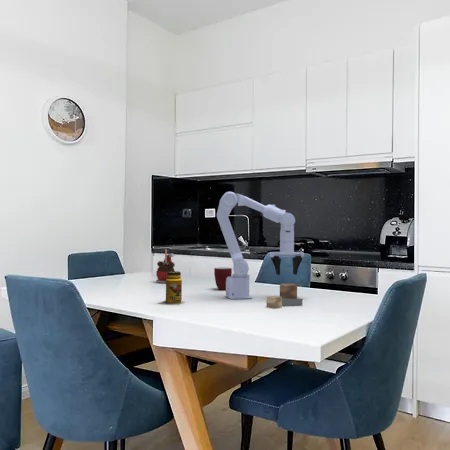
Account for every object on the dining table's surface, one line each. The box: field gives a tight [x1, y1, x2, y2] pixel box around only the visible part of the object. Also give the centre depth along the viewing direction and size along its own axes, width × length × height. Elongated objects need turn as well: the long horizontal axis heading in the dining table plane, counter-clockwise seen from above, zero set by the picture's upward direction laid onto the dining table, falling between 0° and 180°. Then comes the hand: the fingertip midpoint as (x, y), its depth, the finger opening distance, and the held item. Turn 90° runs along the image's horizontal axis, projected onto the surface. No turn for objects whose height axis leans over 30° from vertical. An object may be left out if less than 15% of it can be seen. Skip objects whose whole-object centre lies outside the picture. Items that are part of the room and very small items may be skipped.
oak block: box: [266, 295, 283, 310], centre depth 173 cm, size 4×4×4 cm
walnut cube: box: [279, 283, 298, 299], centre depth 180 cm, size 5×5×5 cm
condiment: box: [159, 270, 185, 306], centre depth 180 cm, size 7×8×12 cm
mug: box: [213, 266, 233, 291], centre depth 218 cm, size 10×8×10 cm
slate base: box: [278, 295, 303, 307], centre depth 180 cm, size 8×8×2 cm
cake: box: [155, 247, 175, 284], centre depth 241 cm, size 11×9×18 cm
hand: (286, 274), depth 194 cm, fingers open, 7 cm apart
